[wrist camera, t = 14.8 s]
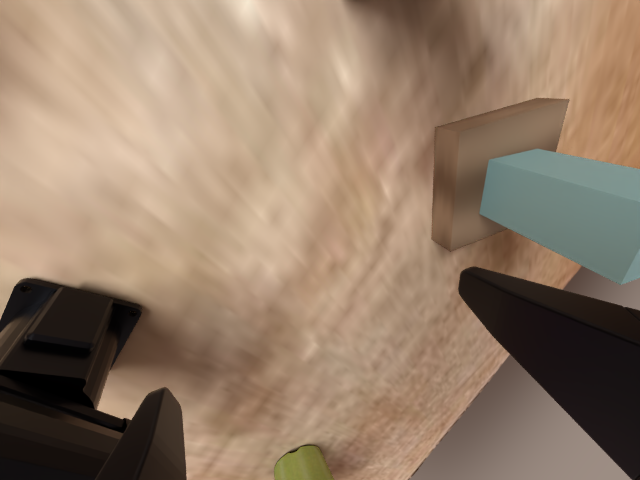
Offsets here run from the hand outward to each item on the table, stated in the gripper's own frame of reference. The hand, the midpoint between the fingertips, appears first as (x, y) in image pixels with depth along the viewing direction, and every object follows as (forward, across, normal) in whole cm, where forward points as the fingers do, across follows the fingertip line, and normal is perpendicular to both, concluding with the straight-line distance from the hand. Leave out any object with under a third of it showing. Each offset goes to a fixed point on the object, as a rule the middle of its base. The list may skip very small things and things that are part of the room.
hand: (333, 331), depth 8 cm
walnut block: (+14, -19, +4) cm, 24 cm away
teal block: (+10, -19, +4) cm, 22 cm away
